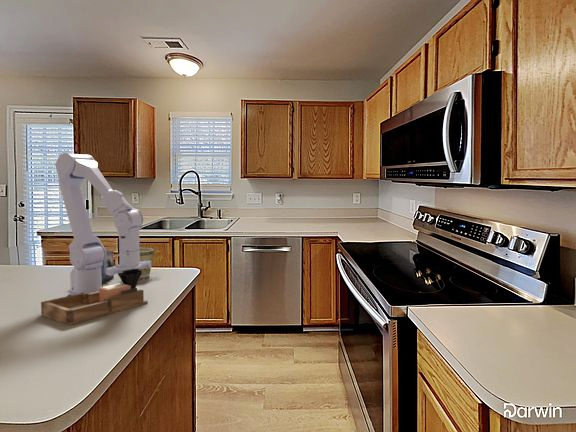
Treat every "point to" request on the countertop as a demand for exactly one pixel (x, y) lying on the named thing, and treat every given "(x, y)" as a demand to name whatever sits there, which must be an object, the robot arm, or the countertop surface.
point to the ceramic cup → (147, 259)
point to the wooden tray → (90, 306)
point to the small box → (107, 266)
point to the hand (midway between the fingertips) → (130, 294)
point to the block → (112, 290)
